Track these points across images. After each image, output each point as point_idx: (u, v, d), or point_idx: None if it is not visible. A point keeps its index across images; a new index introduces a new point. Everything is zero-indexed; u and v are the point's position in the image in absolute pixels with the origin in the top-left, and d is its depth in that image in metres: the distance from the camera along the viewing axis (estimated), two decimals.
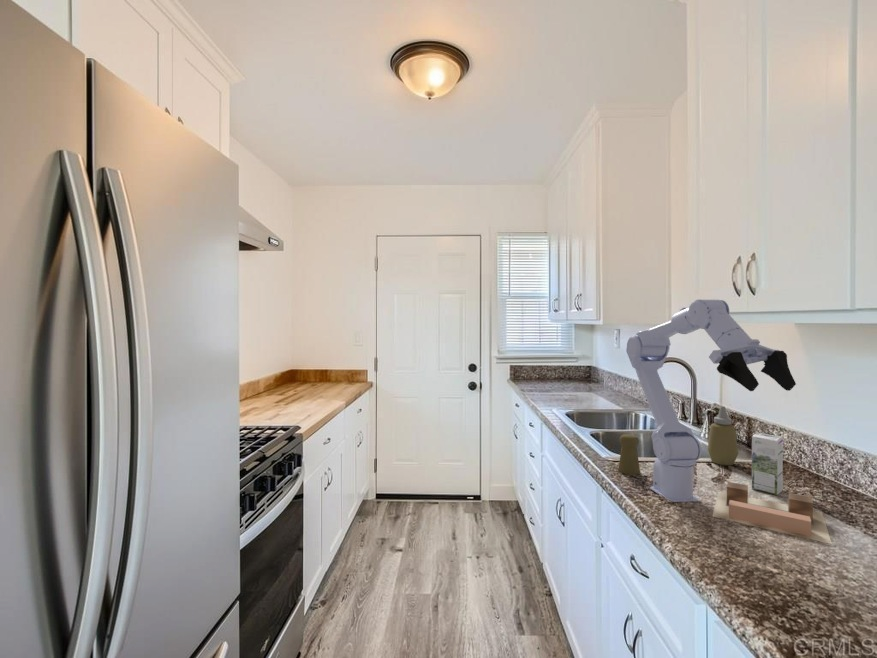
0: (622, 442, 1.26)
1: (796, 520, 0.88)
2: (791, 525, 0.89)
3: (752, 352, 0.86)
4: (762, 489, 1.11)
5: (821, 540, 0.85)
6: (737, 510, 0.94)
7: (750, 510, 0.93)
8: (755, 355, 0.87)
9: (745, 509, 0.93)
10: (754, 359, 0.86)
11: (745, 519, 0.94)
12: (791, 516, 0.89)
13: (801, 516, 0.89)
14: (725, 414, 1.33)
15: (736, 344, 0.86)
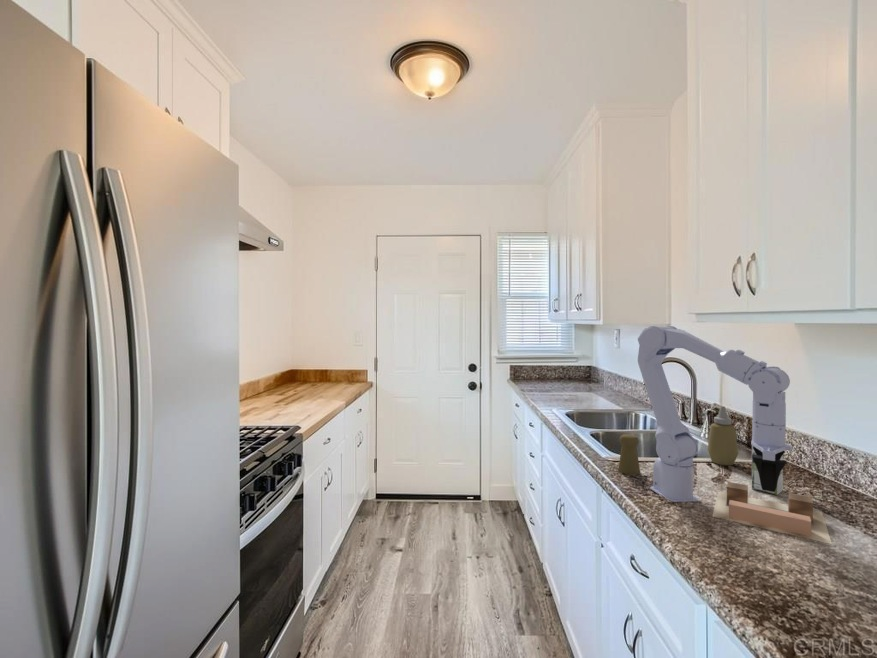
0: (622, 442, 1.26)
1: (796, 520, 0.88)
2: (791, 525, 0.89)
3: None
4: None
5: (821, 540, 0.85)
6: (737, 510, 0.94)
7: (750, 510, 0.93)
8: None
9: (745, 509, 0.93)
10: None
11: (745, 519, 0.94)
12: (791, 516, 0.89)
13: (801, 516, 0.89)
14: (725, 414, 1.33)
15: (779, 443, 0.89)
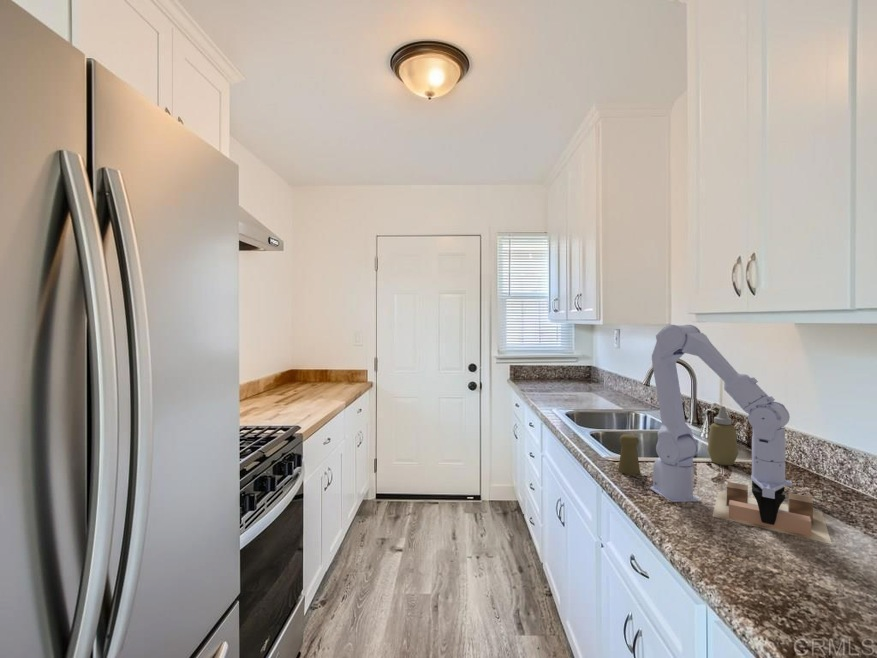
0: (622, 442, 1.26)
1: (796, 520, 0.88)
2: (791, 525, 0.89)
3: None
4: None
5: (821, 540, 0.85)
6: (737, 510, 0.94)
7: (750, 510, 0.93)
8: None
9: (745, 509, 0.93)
10: None
11: (745, 519, 0.94)
12: (791, 516, 0.89)
13: (801, 516, 0.89)
14: (725, 414, 1.33)
15: (779, 479, 0.89)
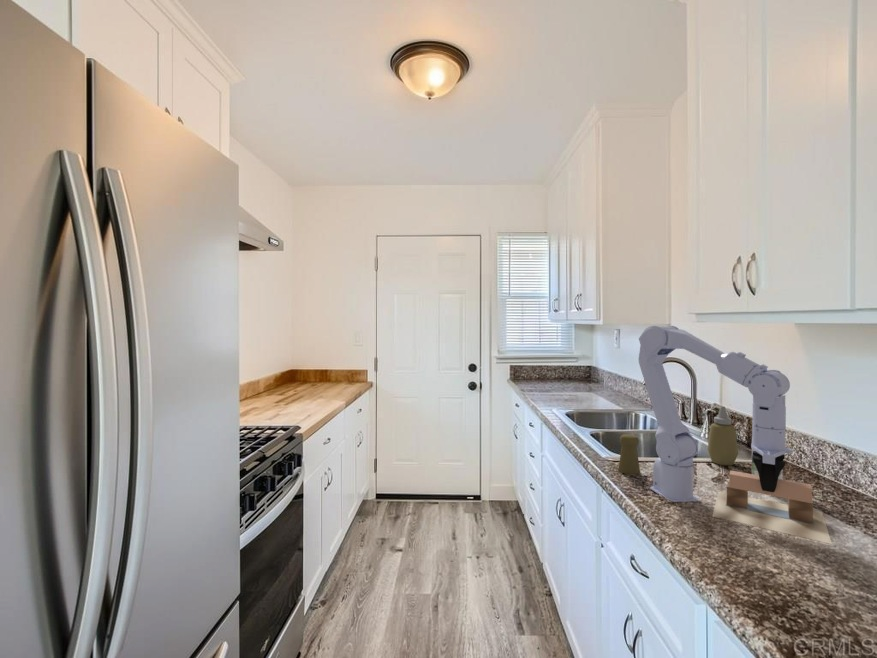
0: (622, 442, 1.26)
1: (797, 488, 0.88)
2: (792, 493, 0.89)
3: None
4: None
5: (821, 540, 0.85)
6: (738, 480, 0.94)
7: (750, 479, 0.93)
8: None
9: (746, 478, 0.93)
10: None
11: (746, 488, 0.93)
12: (792, 484, 0.89)
13: (802, 484, 0.89)
14: (725, 414, 1.33)
15: (779, 446, 0.89)
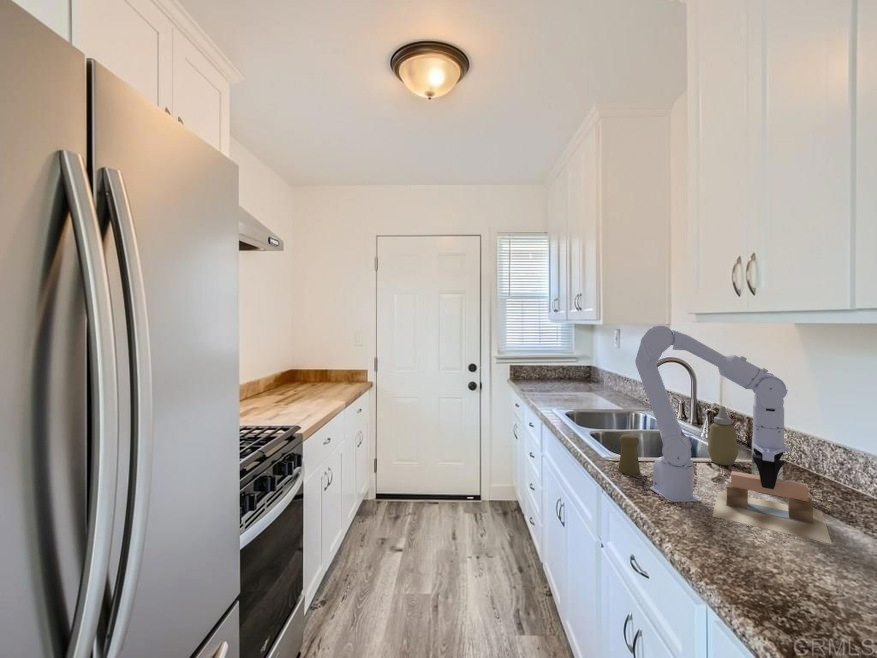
0: (622, 442, 1.26)
1: (794, 487, 0.95)
2: (790, 492, 0.95)
3: None
4: None
5: (821, 540, 0.85)
6: (739, 480, 1.01)
7: (751, 479, 0.99)
8: None
9: (747, 478, 1.00)
10: None
11: (746, 488, 1.00)
12: (789, 483, 0.96)
13: (799, 483, 0.96)
14: (725, 414, 1.33)
15: (778, 445, 0.96)
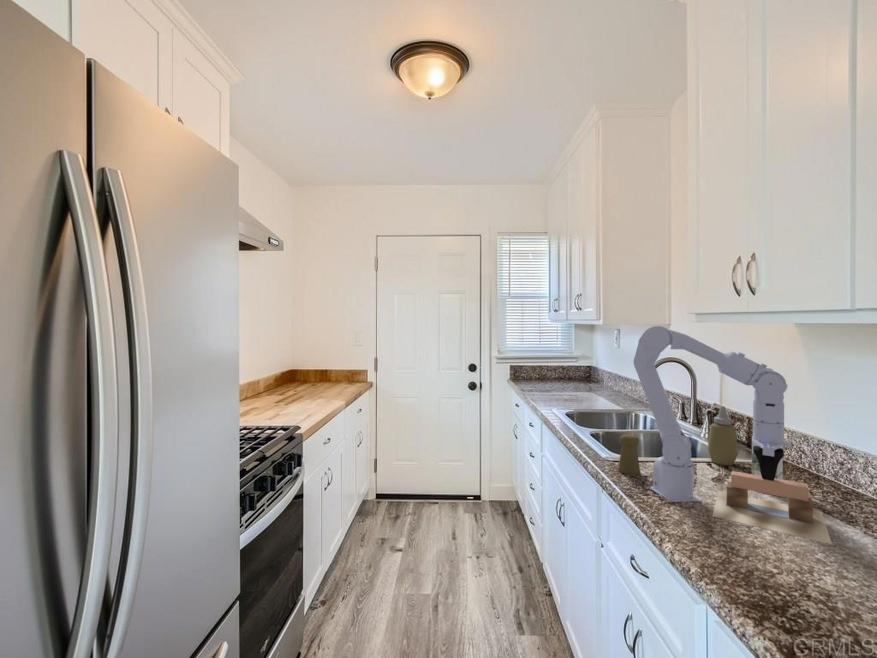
0: (622, 442, 1.26)
1: (794, 487, 0.95)
2: (790, 492, 0.95)
3: None
4: None
5: (821, 540, 0.85)
6: (739, 480, 1.01)
7: (751, 479, 0.99)
8: None
9: (747, 478, 1.00)
10: None
11: (746, 488, 1.00)
12: (789, 483, 0.96)
13: (799, 483, 0.96)
14: (725, 414, 1.33)
15: (778, 440, 0.96)
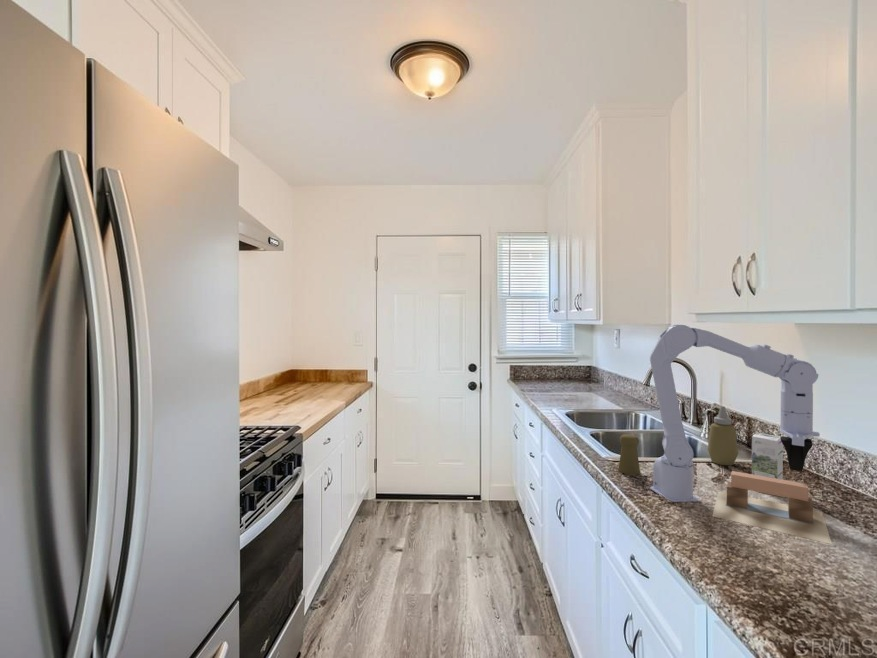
0: (622, 442, 1.26)
1: (794, 487, 0.95)
2: (790, 492, 0.95)
3: None
4: None
5: (821, 540, 0.85)
6: (739, 480, 1.01)
7: (751, 479, 0.99)
8: None
9: (747, 478, 1.00)
10: None
11: (746, 488, 1.00)
12: (789, 483, 0.96)
13: (799, 483, 0.96)
14: (725, 414, 1.33)
15: (807, 430, 0.95)
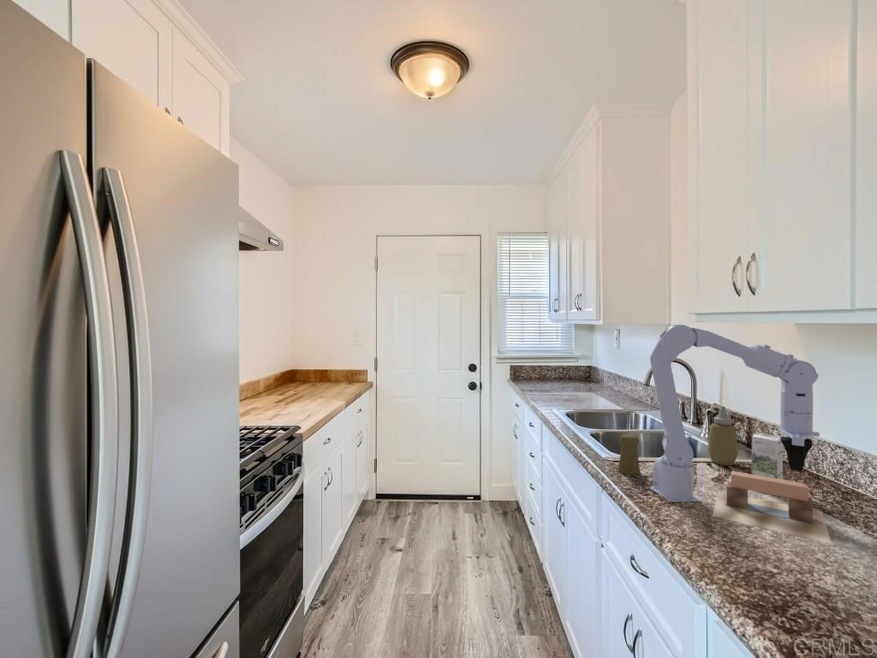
0: (622, 442, 1.26)
1: (794, 487, 0.95)
2: (790, 492, 0.95)
3: None
4: None
5: (821, 540, 0.85)
6: (739, 480, 1.01)
7: (751, 479, 0.99)
8: None
9: (747, 478, 1.00)
10: None
11: (746, 488, 1.00)
12: (789, 483, 0.96)
13: (799, 483, 0.96)
14: (725, 414, 1.33)
15: (807, 430, 0.95)
